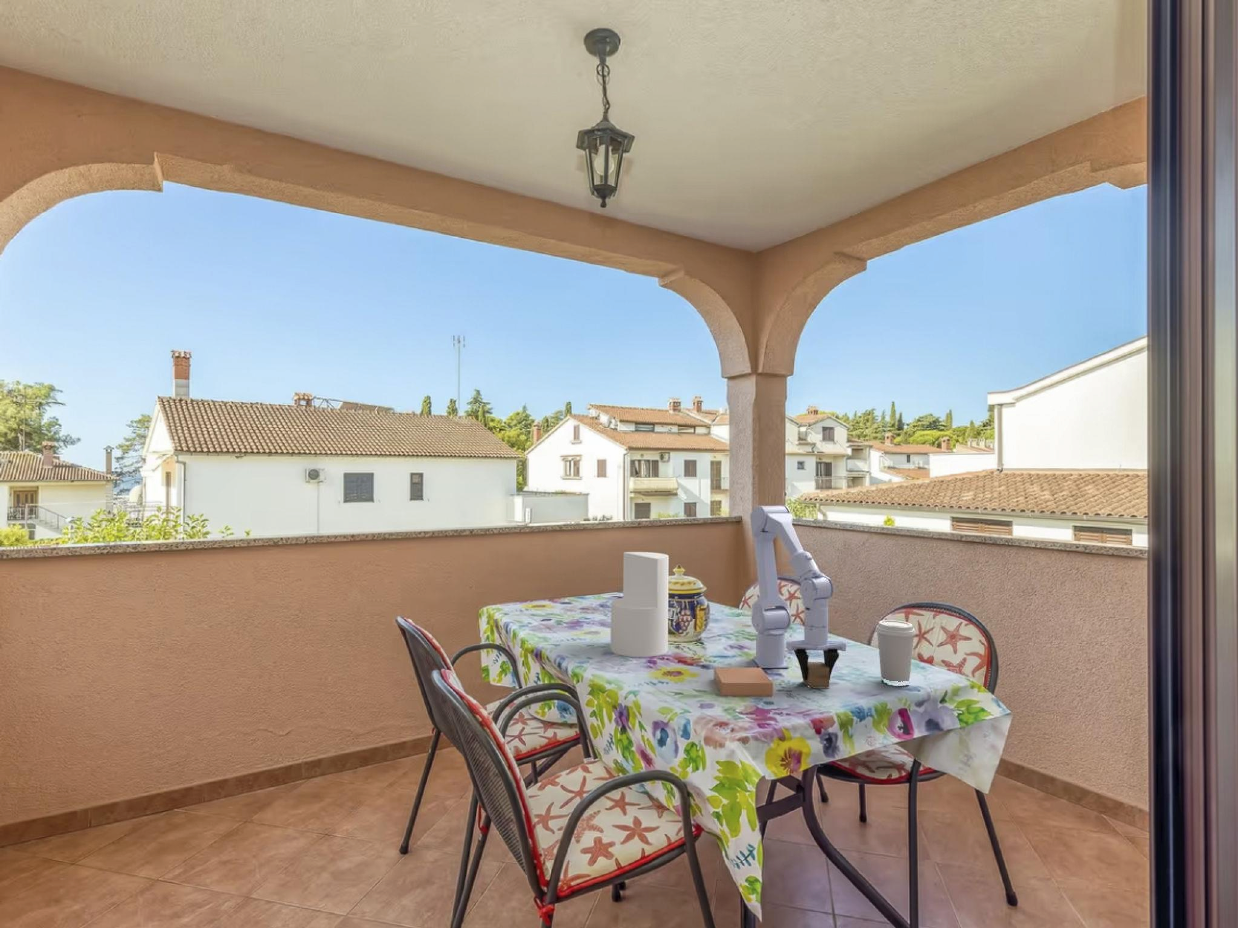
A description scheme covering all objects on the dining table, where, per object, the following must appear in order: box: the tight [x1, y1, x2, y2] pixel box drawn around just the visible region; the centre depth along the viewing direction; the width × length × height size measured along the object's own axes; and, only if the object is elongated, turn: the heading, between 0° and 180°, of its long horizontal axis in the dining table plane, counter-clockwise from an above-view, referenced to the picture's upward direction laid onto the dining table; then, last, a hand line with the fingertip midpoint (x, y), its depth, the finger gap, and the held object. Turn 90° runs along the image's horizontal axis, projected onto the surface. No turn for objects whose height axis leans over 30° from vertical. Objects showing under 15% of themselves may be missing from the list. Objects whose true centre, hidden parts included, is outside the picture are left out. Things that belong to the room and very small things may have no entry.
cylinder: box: [609, 551, 670, 658], centre depth 193 cm, size 17×17×28 cm
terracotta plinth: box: [713, 666, 774, 697], centre depth 159 cm, size 12×12×3 cm
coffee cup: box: [874, 619, 917, 682], centre depth 164 cm, size 10×10×15 cm
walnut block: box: [802, 661, 830, 688], centre depth 161 cm, size 5×5×5 cm
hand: (815, 679), depth 161 cm, fingers closed on walnut block, 5 cm apart
